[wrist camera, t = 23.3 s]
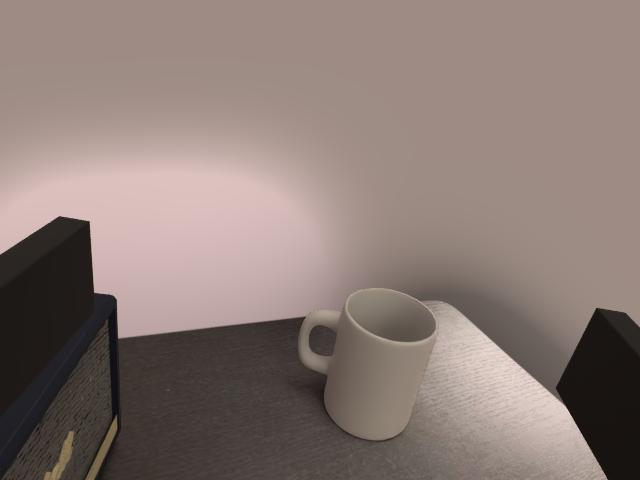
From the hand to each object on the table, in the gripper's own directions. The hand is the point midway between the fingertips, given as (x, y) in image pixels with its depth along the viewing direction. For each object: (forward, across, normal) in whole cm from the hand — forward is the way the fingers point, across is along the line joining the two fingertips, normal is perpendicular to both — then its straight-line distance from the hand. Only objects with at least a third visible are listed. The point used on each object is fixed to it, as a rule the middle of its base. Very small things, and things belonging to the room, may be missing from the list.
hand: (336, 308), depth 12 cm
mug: (+24, +5, -26) cm, 36 cm away
